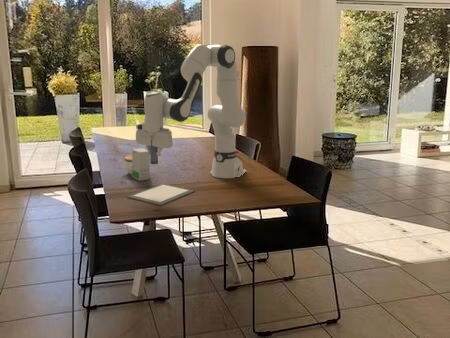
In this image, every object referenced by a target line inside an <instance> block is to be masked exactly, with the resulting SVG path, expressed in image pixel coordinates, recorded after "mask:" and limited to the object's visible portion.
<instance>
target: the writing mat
mask: <svg viewBox="0 0 450 338" xmlns="http://www.w3.org/2000/svg"><path fill="white" fill-rule="evenodd" d="M192 192H193V193H194V192H195V190H193V189H188V188H183V187H180V186H174V185H171V184H166V183H161V184H158V185H155V186H152V187H150V188H147V189H144V190H141V191H137V192H135V193H133V194H130V195H127V198H128V199H131V200H136V201H139V202H143V203H147V204H148V203H149V204H152V205H156V206H160V207H162V206H163V205H166V204H168V203H172V202H174V201H175V200H178V199H180V198H182V197H186V196H188V195H189V194H192Z"/></svg>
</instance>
